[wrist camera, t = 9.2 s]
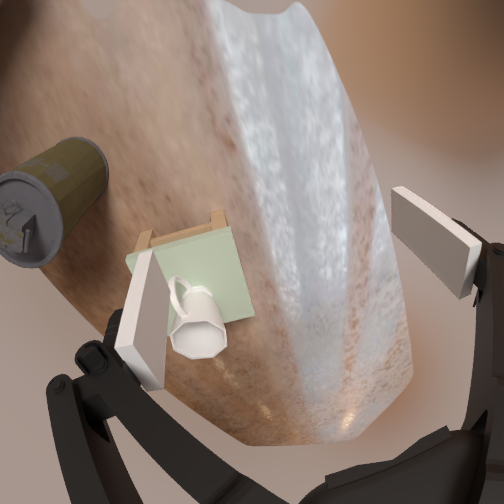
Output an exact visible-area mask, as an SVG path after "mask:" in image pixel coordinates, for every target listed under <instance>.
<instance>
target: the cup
mask: <svg viewBox="0 0 504 504" xmlns="http://www.w3.org/2000/svg"><path fill="white" fill-rule="evenodd" d="M175 281H177V282H179V283H181V284H182V285H183V286H185V287H186V289H187V291H186V292H185V293H184V294H183V295H182V300H181V302H180V303H179V300H178V297H177V294H176V289H175ZM168 286H169V288H170V291H171V294H170V299H171V302H172V305H173V307H174V309H175V310H176V314H175V317H174V321H173V324H172V327H171V331H170V339H171V342H172V346H173V350H174V351H176V352H178V353H180V354H182V355H184V356H186V357H188V358H190V359H203V358H213V357H214V356H216V355H217V354H218V353H219V352H221V351H222V350H223V349H224V348H225V347H227V338H226V329H225V326H224V323H223V321H222V318H221V315H220V312H219V309H218V306H217V304H216V302H215V300H214V298H213V297H212V292H211V291H209V290H207V289H206V288H204V287H203V286H198V287H192V285H191V284H190V283H189V282H188V281H187V280H186V279H184V278H183V277H181V276H179V275H175V276H173V277H170V279H169V281H168Z"/></svg>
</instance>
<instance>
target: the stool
mask: <svg viewBox="0 0 504 504" xmlns="http://www.w3.org/2000/svg"><path fill="white" fill-rule="evenodd" d="M210 215H211V222H210V223H207V224H203V225H199V226H196V227H192V228H188V229H185V230H181V231H178V232H174V233H171V234H167V235H164V236H160V237H157V238H156V237H155V234H154V232H153V229H152V230H149V231H145V232H142V233H140V235H139V238H138V241H137V244H136V247H135V250H134V253H131V254H128V255H127V257H126V260H125V261H126V263H127V265H128V268H129V270H130V272H131V274H132V276H133V273H134V269H135V266H136V263H137V259H138V256H139V253H142V252H146V251H149V250H153V252H154V254H155V256H156V259H157V261H158V263H159V266H160V268H161V270H162V273H163V275H164V277H165V279H166V282H167V284H168V281H169V279H170V277H173V276H175V275H179V276H181V277H183V278H184V279H186V280H187V281H188V282H189V283H190V284H191V285H192V287H198V286H203V287H204V288H206V289H207V290H209V291H211V292H212V297H213V298H214V300H215V302H216V304H217V306H218V309H219V312H220V315H221V318H222V321H223V323H227V322H231V321H235V320H239V319H243V318H247V317H251V316H254V315H255V312H254V308H253V304H252V301H251V298H250V294H249V290H248V287H247V283H246V280H245V276H244V273H243V269H242V266H241V262H240V259H239V255H238V252H237V248H236V244H235V241H234V237H233V234H232V230H231V227H230V226H228V224H227V219H226V216H225V212H224V209H223V210H219V211H215V212H212V213H210ZM175 289H176V294H177V297H178V300H179V303H180V302H181V300H182V295H183V294H184V293H185V292H186V291H187V289H186V287H185V286H183V285H182V284H181V283H179V282H177V281H175ZM175 314H176V310H175V309H174V307H173V305H172V302H171V299H170V304H169V316H168V328H167V336H170V331H171V327H172V324H173V321H174V317H175Z"/></svg>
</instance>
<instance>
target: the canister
mask: <svg viewBox="0 0 504 504" xmlns="http://www.w3.org/2000/svg"><path fill="white" fill-rule="evenodd" d="M107 180H108V166H107V160H106V158H105V156H104V154H103V153H102V151H101V150H100V148H99V147H98V146H97V145H96V144H95V143H93V142H91V141H90V140H87V139H85V138H82V137H71V138H67V139H64V140H62V141H61V142H59V143H58V144H56V146H54V147H52V148H50V149H48V150H46V151H45V152H43V153H41V154H39V155H37V156H35V157H34V158H32V159H30V160H28V161H27V162H25V163H23V164H22V165H20V166H18V167H17V168H15V169H13V170H12V171H10V172H6V173H3V174H1V175H0V254H1V255H2V256H3V257H4V258H5V259H6V260H8V261H9V262H11V263H13V264H16V265H17V266H20V267H23V268H39V267H42V266H44V265H46V264H47V263H49V262H51V261H52V260H53V259H54V258H55V256H56V255H57V254H58V252H59V250H60V248H61V245H62V243H63V241H64V240H65V239H66V237H67V236H68V234H69V233H70V232H71V230H72V229H73V228H74V226H75V225H76V224H77V222H78V221H79V220H80V218H81V217H82V216H83V215H84V213H85V212H86V211H87V209H88V208H89V207H90V206H91V204H92V203H93V202H94V201H96V200H97V199H98V198H99V197H100V196H101V194H102V193H103V191H104V189H105V187H106V184H107Z"/></svg>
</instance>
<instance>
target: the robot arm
mask: <svg viewBox="0 0 504 504" xmlns="http://www.w3.org/2000/svg"><path fill="white" fill-rule="evenodd" d="M391 202H392V230H391V231H392V233H393V234H394V235H396V236H397V237H398V238H399V239H400V240H401V241H402V242H403V243H404V244H405V245H406V246H407V247H408V248H409V249H410V250H411V251H412V252H413V253H414V254H415V255H416V256H417V257H419V258H420V260H422V261H423V263H425V265H426V266H427V267H428V268H430V269H431V271H432V272H433V273H434V274H435V275H436V276H437V277H438V278H439V279H440V280H441V281H442V282H443V283H444V284H445V285H446V286H447V287H448V288H449V289H450V290H451V292H452V293H453V294H454V295H455V296H456V297H457V298H458V299H461V298H463V297H466V296H468V295H470V294H471V290H472V286H473V283H474V284H475V285H476V286H477V287H478V290H477V294H476V297H475V301H474V304H473V307H475V305H476V335H475V349H474V361H473V371H472V379H471V387H470V394H469V400H468V406H467V412H466V417H465V420H464V423H463V425H462V428H461V430H454V431H449V429H448V427H447V426H444V427H442V428H440V429H438V430H437V431H435V432H433V433H431V434H429V435H427V436H425V437H423V438H421V439H419V440H418V441H417V442H416V443H415V444H413V445H412V446H411V447H409V448H408V449H407V450H406V451H404V452H403V453H402V454H400V455H399V456H398V457H396V458H395V459H393V460H389V461H383V462H376V463H370V464H362V465H357V466H354V467H351V468H348V469H345V470H342V471H339V472H336V473H333V474H329V475H326V476H325V483H322V484H321V485H319V486H317V487H316V488H315V489H313V490H312V491H311V492H309V493H308V494H307V495H306V496H305V497H304V498H303V499H302V500H301V501H300V503H299V504H504V244H501V243H491V244H490V243H488V242H487V241H486V240H484V239H483V238H482V237H481V236H479V235H478V234H477V233H475V232H473V231H472V230H471V229H470V228H468V227H467V226H466V225H465V224H463V223H462V222H460V221H457V220H455V219H453V218H452V219H450V218H448V217H447V216H446V215H444V214H443V213H442V212H440V211H439V210H437V209H436V208H434V207H433V206H432V205H430V204H429V203H427V202H426V201H424V200H423V199H421V198H420V197H418V196H417V195H415V194H414V193H412V192H411V191H409V190H408V189H406V188H405V187H403V186H400V187H395V188H392V189H391ZM170 294H171V291H170V288H169V286H168V284H167V282H166V279H165V277H164V275H163V273H162V270H161V268H160V266H159V263H158V261H157V259H156V256H155V254H154V252H153V250H149V251H146V252H142V253H139V256H138V259H137V263H136V266H135V269H134V273H133V276H132V280H131V283H130V287H129V291H128V294H127V298H126V302H125V306H124V308H123V309H118V310H115V311H114V313H113V314H112V316H111V317H110V318H109V322H108V325H107V329H106V332H105V336H104V340H103V343H102V342H100V341H98V340H97V341H96V340H93V341H89V342H87V343H85V344H84V345H82V346H81V347H80V348H79V349H78V351H77V353H76V355H75V363H76V364H77V366H78V367H79V368H80V369H81V370H82V372H83V373H84V374H85V375H83V376H81V377H79V378H76V379H74V380H72V379H71V378H70V377H69V376H68V375H66V374H60V375H58V376H56V377H54V378H53V379H52V380H51V381H50V382H49V384H48V386H47V388H46V396H47V404H48V410H49V416H50V421H51V427H52V432H53V437H54V442H55V446H56V451H57V455H58V459H59V462H60V466H61V471H62V474H63V478H64V481H65V485H66V488H67V491H68V494H69V497H70V501H71V503H72V504H143V502H142V500H141V498H140V496H139V494H138V492H137V490H136V488H135V486H134V484H133V482H132V480H131V478H130V476H129V474H128V471H127V469H126V467H125V465H124V462H123V460H122V458H121V456H120V453H119V451H118V448H117V446H116V443H115V441H114V439H113V436H112V434H111V431H110V428H109V426H108V423H107V420H106V419H108V418H111V417H113V416H116V417H117V418H118V419H119V420H120V421H121V423H122V424H123V425H124V426H125V428H126V429H127V430H128V431H129V432H130V433H131V435H132V436H133V437H134V438H135V439H136V440H137V442H139V444H140V445H141V446H142V447H143V448H144V449H145V451H146V452H147V453H148V454H149V455H150V456H151V457H152V458H153V459H154V460H155V461H156V462H157V463H158V464H159V465H160V466H161V467H162V469H164V470H165V471H166V473H167V474H168V475H169V476H171V478H173V479H174V480H175V481H176V482H177V483H178V484H179V485H180V486H181V487H182V488H183V489H184V490H185V491H186V492H187V493H188V494H190V495H191V496H192V497H193V498H194V499H195V500H196V501H197V502H198V503H200V504H289V503H287V502H286V501H284V500H283V499H281V498H279V497H278V496H276V495H275V494H273V493H271V492H270V491H268V490H267V489H265V488H264V487H262V486H261V485H259V484H258V483H256V482H255V481H253V480H252V479H250V478H249V477H247V476H245V475H243V474H241V473H239V472H238V471H236V470H235V469H234V468H232V467H231V466H230V465H228V464H227V463H226V462H225V461H223V460H222V459H221V458H219V457H218V456H217V455H216V454H214V453H213V452H212V451H210V450H209V449H208V448H207V447H205V446H204V445H203V444H202V443H201V442H199V441H198V440H197V439H196V438H195V437H193V436H192V435H191V434H190V433H189V432H188V431H186V430H185V429H184V428H183V427H182V426H181V425H180V424H179V423H177V422H176V421H175V420H174V419H173V418H172V417H171V416H170V415H169V414H168V413H166V412H165V411H164V410H163V409H162V408H161V407H160V406H159V405H158V404H157V403H156V402H155V401H154V400H153V399H152V398H151V397H150V396H149V395H148V394H147V393H146V392H145V391H144V390H143V389H142V388H141V387H140V386H141V385H142V386H143V387H144V388H145V390H146V391H154V390H161V389H164V374H165V356H166V341H167V328H168V316H169V304H170Z"/></svg>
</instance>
